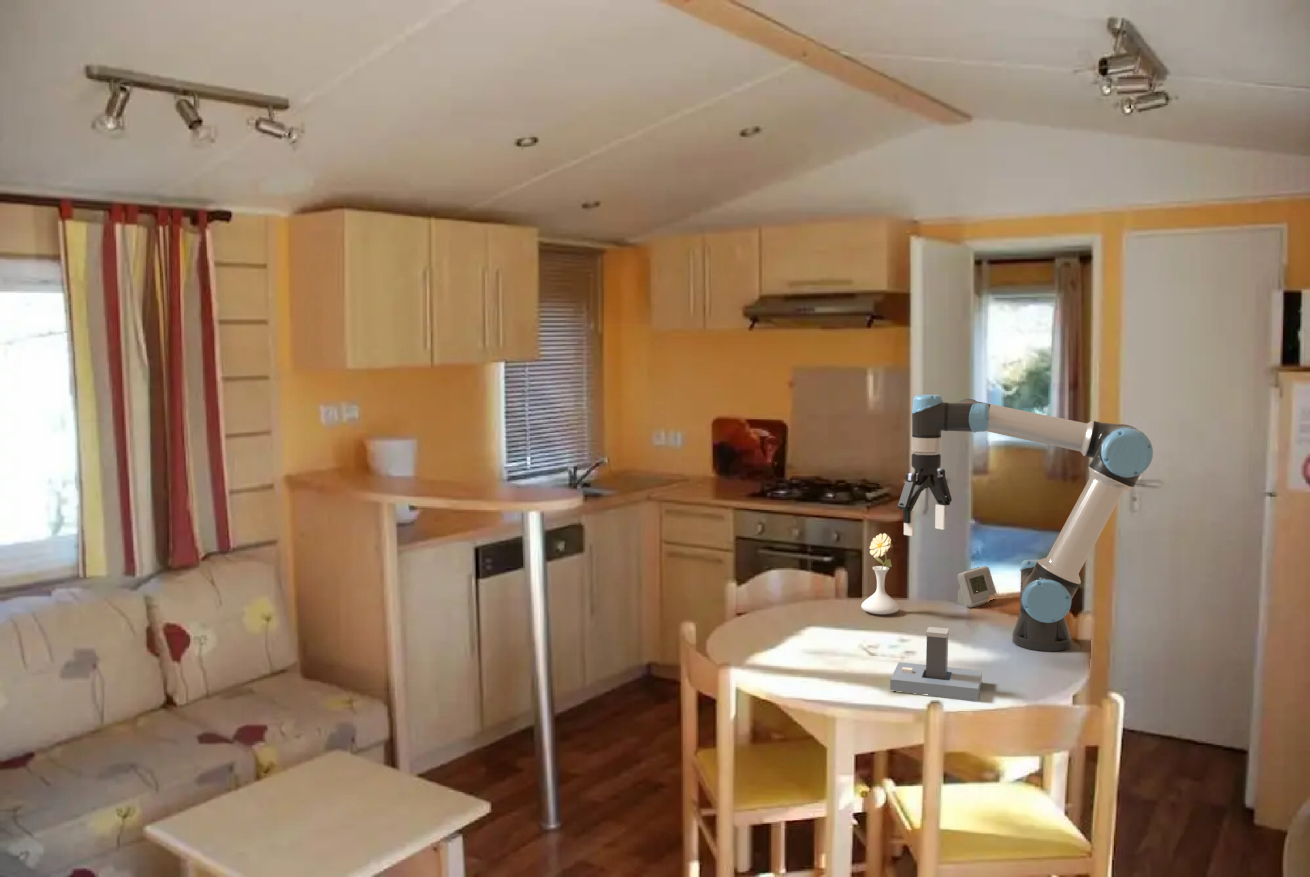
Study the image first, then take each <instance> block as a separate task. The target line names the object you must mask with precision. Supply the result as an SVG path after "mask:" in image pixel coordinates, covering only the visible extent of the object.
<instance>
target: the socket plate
mask: <svg viewBox="0 0 1310 877" xmlns="http://www.w3.org/2000/svg"><path fill="white" fill-rule="evenodd" d="M889 680H890V686H889V689H890V690H895V691H902V692H909V693H916V694H915V695H917V694H928V695H933V696H932V697H934V696H936V698H944V699H945V698H946V699H951V700H952V699H955V700H960V701H961V700H963V701H971V702H972V701H973V702H979V698H980V694H981V688H982V683H983V670H981V669H979V670H978V669H970V668H961V667H951V666H947V680H940V679H930V678H926V664H920V663H911V662H910V663H909V662H902V661H898V663H897V665H896V667H895V669H894V671H893V673H892V675H891V678H890V679H889ZM890 690H889V691H890Z"/></svg>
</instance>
